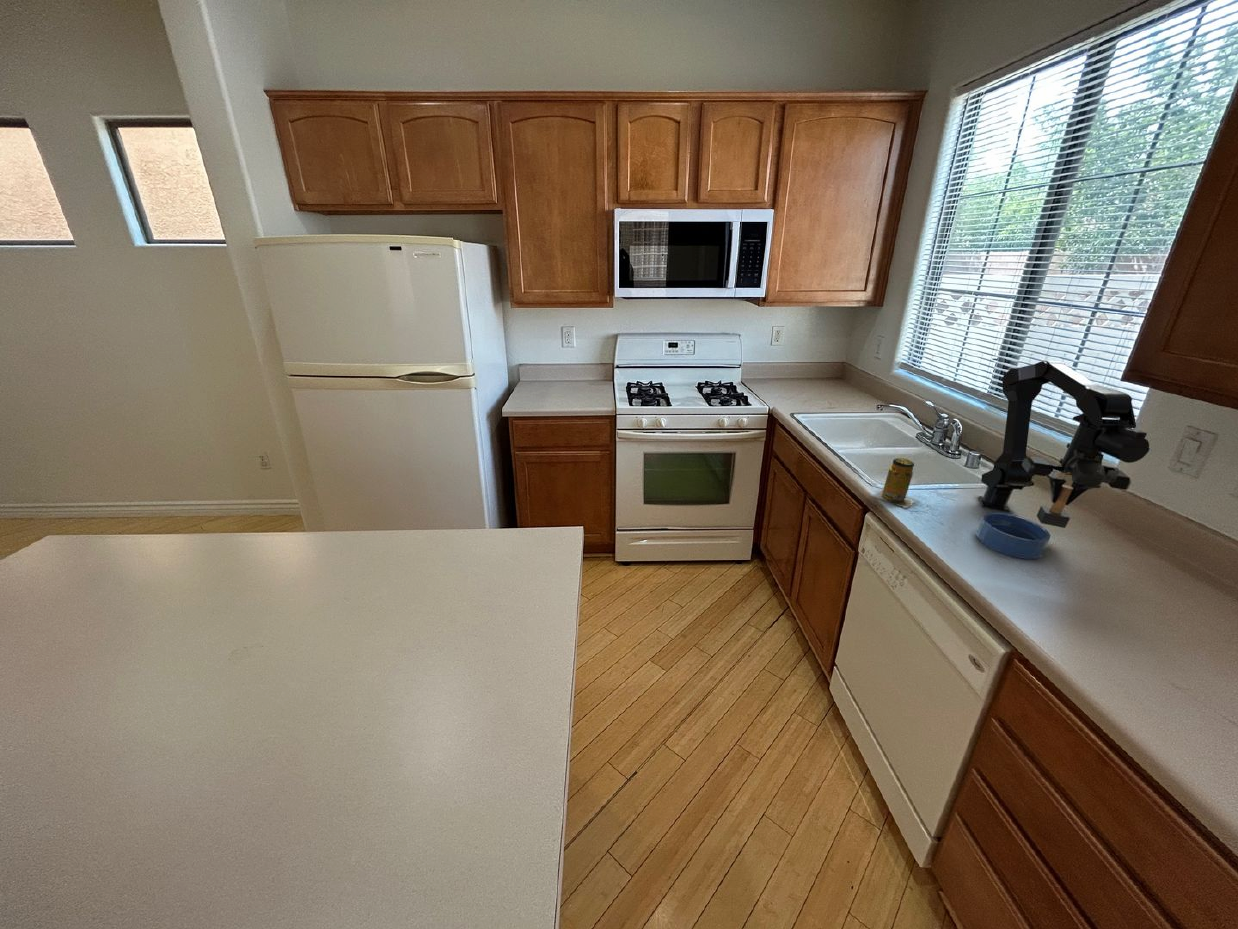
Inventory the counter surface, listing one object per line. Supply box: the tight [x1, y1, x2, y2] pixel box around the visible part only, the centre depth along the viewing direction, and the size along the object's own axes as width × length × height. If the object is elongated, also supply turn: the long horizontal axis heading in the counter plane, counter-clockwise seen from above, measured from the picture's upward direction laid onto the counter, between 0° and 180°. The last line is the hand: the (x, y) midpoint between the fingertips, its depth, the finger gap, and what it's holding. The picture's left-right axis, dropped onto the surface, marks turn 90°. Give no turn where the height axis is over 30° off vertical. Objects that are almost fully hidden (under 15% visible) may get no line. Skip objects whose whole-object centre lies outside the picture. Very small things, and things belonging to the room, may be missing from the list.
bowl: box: [975, 512, 1051, 560], centre depth 117 cm, size 13×13×6 cm
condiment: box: [875, 457, 917, 509], centre depth 136 cm, size 7×8×12 cm
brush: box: [1036, 484, 1073, 529], centre depth 117 cm, size 4×5×10 cm
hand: (1059, 503), depth 117 cm, fingers closed on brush, 2 cm apart
